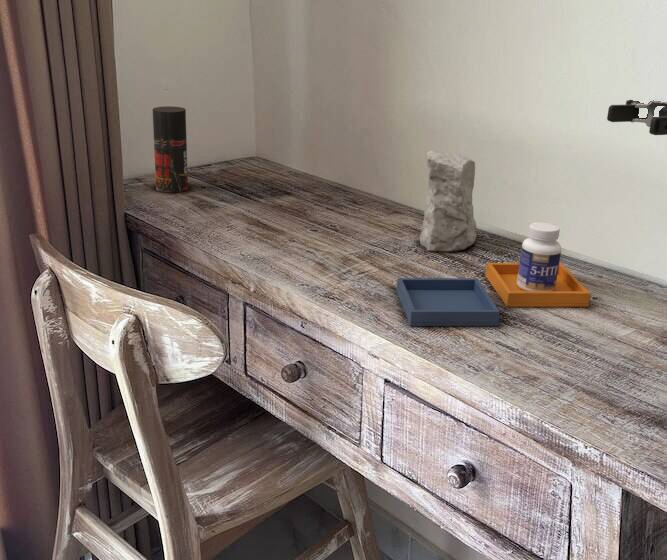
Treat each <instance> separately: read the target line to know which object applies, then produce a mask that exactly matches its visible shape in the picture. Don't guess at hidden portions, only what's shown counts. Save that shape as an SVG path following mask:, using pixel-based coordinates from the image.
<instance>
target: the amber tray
mask: <svg viewBox="0 0 667 560" xmlns="http://www.w3.org/2000/svg"><path fill="white" fill-rule="evenodd" d="M519 263H520V262H486V268H485V274H484V275H485V277H486V279H487V280H488V281H489V283H490V284H491V286H492V288H493V289H494V290H495V292H496V293H497V295H498V296H499V298H500V299H501V300H502V302H503V303H504V305H505V306H506V307H508V308H509V307H511V308H515V307H517V308H518V307H520V308H522V307H524V308H527V307H529V308H531V307H533V308H537V307H539V308H544V307H545V308H553V307H555V308H563V307H564V308H565V307H566V308H567V307H568V308H569V307H570V308H571V307H572V308H576V307H577V308H587V307H589V305H590V300H591V299H590V298H591V292H590V290H588V289H587V287H585V286H584V285H583V284H582V283H581V282H580V281H579V280H578V278H577V277H576V276H575V275H574V274H573V273H572V272H571V271H570V270H569V269H568V268H567V267H566V266H565V265H564V264H563V263H561V262H559V268H558V274H557V280H556V286H555V289H554V290H553V291H525V290H523V289H521V288H520V287H519V286H518V285H517V277H518V270H519Z"/></svg>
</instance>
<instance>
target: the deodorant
mask: <svg viewBox="0 0 667 560" xmlns="http://www.w3.org/2000/svg"><path fill="white" fill-rule="evenodd" d="M186 111H187V109H186V108H184V107H181V106H174V105H173V106H172V105H171V106H168V105H167V106H166V105H165V106H157V107H153V108H152V127H153V129H152V131H153V148H154V149H153V150H154V152H153V153H154V170H155V171H154V172H155V173H154V174H155V189H156V190H157V191H158V192H161V193H167V194H168V193H170V194H175V193H182V192H185V191H187V190H188V189H189V181H188V179H189V178H188V146H187V141H188V140H187V114H186V113H187V112H186Z"/></svg>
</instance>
